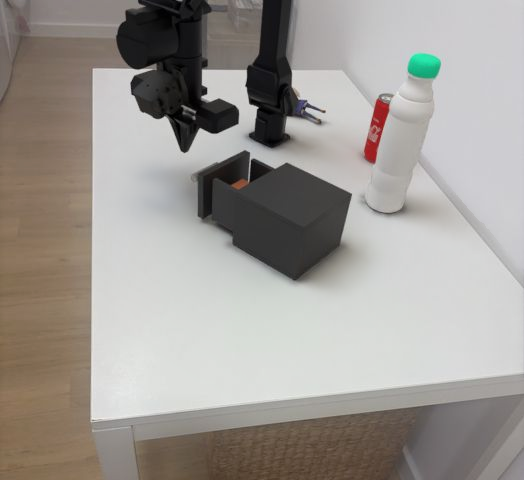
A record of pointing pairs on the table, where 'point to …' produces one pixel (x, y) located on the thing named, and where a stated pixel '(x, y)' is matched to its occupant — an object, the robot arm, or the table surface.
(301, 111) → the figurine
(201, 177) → the drawer
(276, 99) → the robot arm
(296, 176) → the cabinet
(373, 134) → the beverage can
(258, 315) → the table surface
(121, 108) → the table surface
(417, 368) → the table surface
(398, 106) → the water bottle
